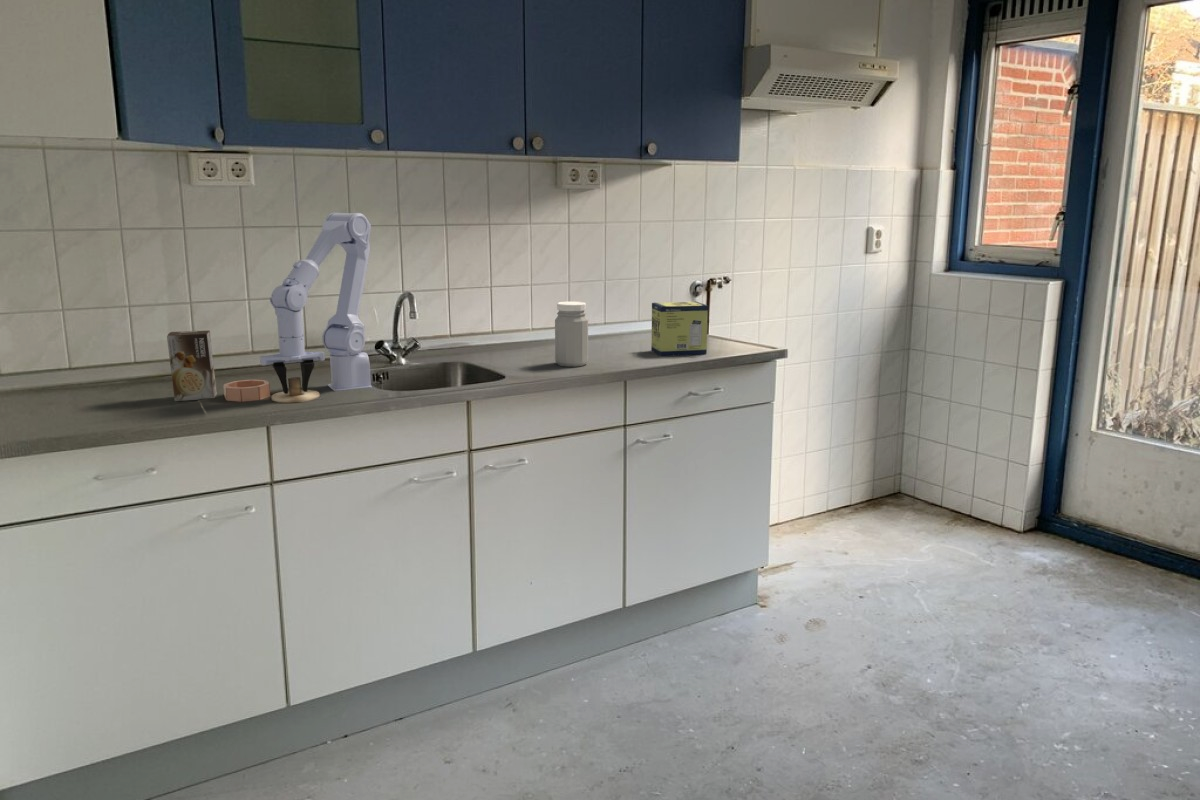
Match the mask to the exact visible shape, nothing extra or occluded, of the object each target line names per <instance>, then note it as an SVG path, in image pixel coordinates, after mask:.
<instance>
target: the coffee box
mask: <svg viewBox="0 0 1200 800" xmlns="http://www.w3.org/2000/svg"><path fill="white" fill-rule="evenodd" d="M211 339H212V338H211V330H189V331H188V330H185V331H170V332H169V333H168V334H167V336H166V341H167V347H168V357H169V364H170V366H169V367H170V374H171V382H172V389H173V399H174V402H181V401H182V402H183V401H198V400H199V401H200V400H202V399H215V398H216V396H217V394H218V393H217V392H218V391H217V386H216V374H215V368H214V358H213V349H212V340H211Z"/></svg>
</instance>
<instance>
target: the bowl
mask: <svg viewBox="0 0 1200 800" xmlns="http://www.w3.org/2000/svg"><path fill="white" fill-rule="evenodd" d="M223 394H224V398H225V400H226V401H228V402H238V403H239V402H242V403H243V402H252V401H259V400H263V399H266V398H269V397H271V386H270V382H269V381H268V380H264V379H243V380H235V381H231V382H227V383H224V384H223Z"/></svg>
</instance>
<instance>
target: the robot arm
mask: <svg viewBox="0 0 1200 800" xmlns="http://www.w3.org/2000/svg"><path fill="white" fill-rule="evenodd" d="M321 229H322V230H321V232H320V233H319V235H318V237H317V238H316V240H315V242H314V244H313V246H312V247H311V249H310V251H309V253H308V255H307V256H306V258H305V259H300V260H298V261H295V262H294V263H293V264H292V267H293V268H292V269H291V271H290V272H289V274H288V275H287V276H286V278H284V279H283V281H282V284H281V285H278V286H276V287H275V288H274V289H273V290H272V293H271V297H269V302H270V304H271V306H272V308H274V313H275V315H276V321H277V332H278V333H277V334H278V346H279V347H278V349H279V353H277V354H270V355H261V356H259V358H260V359H259V360H260V365H261V366H263V367H264V366H267V365H272V368H273V369H274V372H275V373H276V375H277V377H278V379H279V381H280V384H281V387H282V392H284V393H285V394H288V391H289V386H288V382H287V367H286V364H291V363H299V364H300V371H301V390H303V391H304V392H307V390H308V386H309V381H310V378H311V374H312V373H313V370H314V369H315V362H316V361H321V362H322V361H325V359H326V358H325V352H324V351H306V348H305V336H304V321H303V320H304V319H303V308H304V307H305V306H306V305H307V304H308V303H307V302H308V295H309V291H310V289H311V288H312V286H313V284H314V283H315V282H316V281H317V279H318V277H319V276H320V270H319V267H320V265H322V263H323V262H324V261H325V259H326V258H327V256H328V255H329V254H330V253H331V252H332V251H333V249H334V248H335V247H336V245H339V246H340V247H342V248H343V250H344V251H345V252H346V255H345V256H346V257H345V261H344V266H343V272H342V279H341V284H340V289H339V295H338V301H337V305H336V313H335V314H334V315H333V316H331V317H330V318H329V319H328V321H327V325H326V328H325V329H324V331H323V333H322V335H321V336H322V338H321V341H322V344H323V346H324V348H325V349H326V350H327V354H329V363H330V377H331V383H329V384H328V383H327V386H328V387H329V388H330V389H331V390H332V391H334V392H337V391H348V390H357V389H358V390H359V389H369V388H370V389H371V388H372V387H373V386H372V384H371V383H372V382H371V365H370V364H371V363H370V358H369V355H368V353H367V352H364V351H363V352H362V350H363V349H364V347H365V344H366V343H365V342H366V337H365V325H364V323H363V322H362V321H361V319H359V315H360V310H361V304H362V298H363V294H364V293H363V292H364V286H365V280H366V276H367V269H368V263H369V258H370V251H371V246H370V236H371V229H372V225H371V223H370V222H369V220H368V218H367V217H366V215H365V214H363V213H361V212H355V213H354V212H353V213H348V212H347V213H346V212H342V213H341V212H336V211H335V212H330V213H329V214H328V215H327V216H326V218H325V220H324V221H323V222H322V224H321Z"/></svg>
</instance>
